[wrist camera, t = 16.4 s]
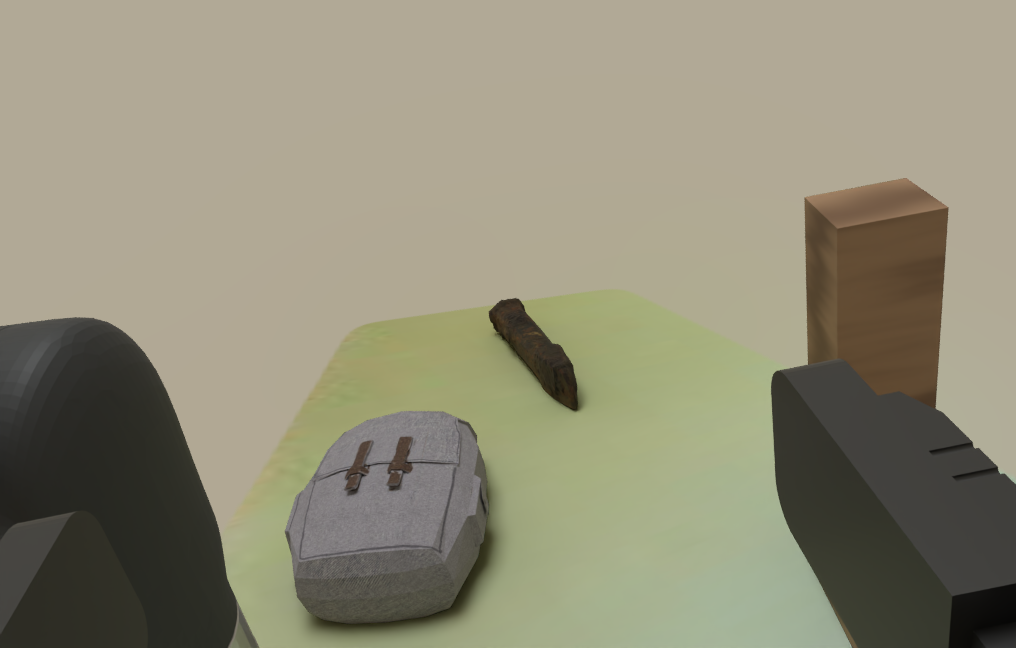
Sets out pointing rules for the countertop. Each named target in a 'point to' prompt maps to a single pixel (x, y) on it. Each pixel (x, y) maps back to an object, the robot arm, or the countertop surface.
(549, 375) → the hand tool
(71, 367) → the robot arm
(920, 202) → the wooden peg socket stand
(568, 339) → the countertop surface
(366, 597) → the small grey backpack
